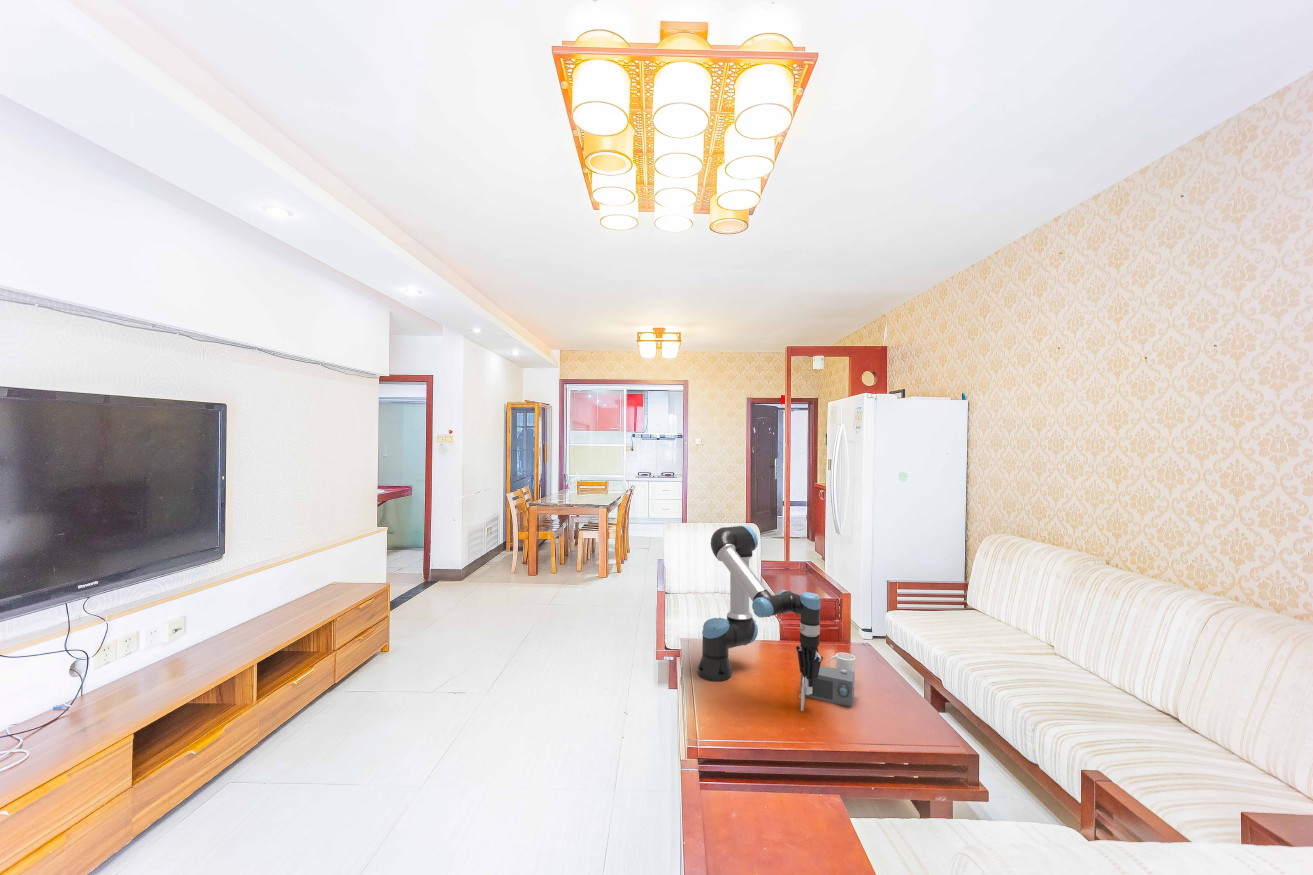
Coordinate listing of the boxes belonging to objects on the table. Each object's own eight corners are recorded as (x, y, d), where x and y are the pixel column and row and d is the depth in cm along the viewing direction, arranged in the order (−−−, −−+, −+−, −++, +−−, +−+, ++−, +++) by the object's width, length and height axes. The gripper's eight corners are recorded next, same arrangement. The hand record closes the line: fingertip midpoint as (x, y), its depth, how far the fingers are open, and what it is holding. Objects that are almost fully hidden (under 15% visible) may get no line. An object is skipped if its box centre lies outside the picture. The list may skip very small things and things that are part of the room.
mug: (824, 680, 236) (824, 652, 236) (834, 674, 242) (834, 648, 242) (849, 690, 227) (849, 661, 227) (859, 684, 233) (859, 656, 233)
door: (800, 696, 221) (800, 675, 221) (805, 696, 220) (805, 676, 220) (798, 709, 209) (798, 688, 209) (803, 710, 208) (804, 689, 208)
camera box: (799, 697, 219) (800, 670, 219) (804, 685, 230) (805, 659, 230) (851, 708, 211) (852, 681, 211) (854, 696, 222) (854, 669, 222)
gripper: (791, 629, 215) (789, 688, 215) (813, 640, 203) (812, 703, 203) (805, 626, 218) (804, 684, 218) (828, 637, 206) (827, 699, 206)
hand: (808, 693), depth 211 cm, fingers closed
